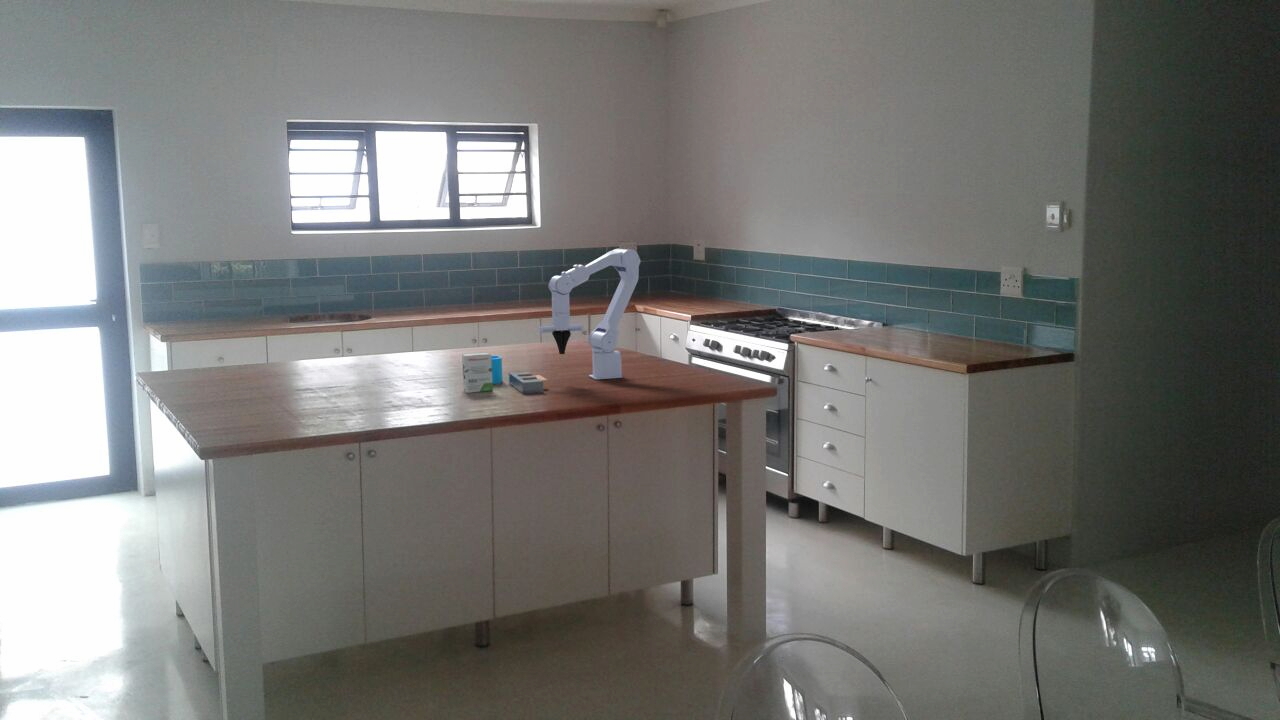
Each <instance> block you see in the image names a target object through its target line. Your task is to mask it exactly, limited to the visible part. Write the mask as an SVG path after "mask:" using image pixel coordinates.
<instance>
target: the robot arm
mask: <svg viewBox="0 0 1280 720" xmlns="http://www.w3.org/2000/svg"><path fill="white" fill-rule="evenodd" d="M640 265H641V258H640V256H639V254H638V252H637V251H636V250H634V249H624V248H619V247H617V248H615V249H613V250H609V251H608V252H606V253H605V254H603V255H601V256H600V257H598V258H596V259H594V260H593V261H591V262H589V263H588V264H586V265H583V264H574V265H573V266H572V267H573V268H571V269H569V270H567V271H562V272H561V274H560V275H553V276H552V277H551V279H550V280H549V283H548V284H547V285H548V286H547V287H548V289H549V291H550V292H551V315H552V316H551V319H552V325H544V326H538V333H539V334H545V333H546V334H547V333H548V334H549V333H551V334H552V336H553V338H554V341H555V344H556V345H557V348H558V354H560V355H565V354H566V353H565V352H566V348H567V344H568V343H569V340H570V338H571V335H572V332H583V331H584V325H583V324H571V316H570V315H571V314H570V312H571V311H570V308H571V307H570V293H571V291H572V289H574V288H577V286H579V285H581V284H583V283H585V282H587V281H588V280H589V278H590V275H593V274H594V273H597V272H598V271H599V272H600V271H601V270H603V269H605V268H607V267H611V266H612V267H614V269H615V270H616V271H617V272H618V275H619V276H620V281H619V284H618V285H617V288H616V290H615V292H614V293H613V296H612V299H611V301H610V303H609V305H608V307H607V309H606V312H605V315H604V317H603V319H602V321H600V322H599V323H598V324H597V325H596V326H595V329H594V330H593V331H592V332H590V334H589V336H588V344H589V346H590V347H591V350H592V351H591V352H592V374H589V375H588V377H590V378H592V379H594V380H606V379H607V380H609V379H610V380H611V379H620V378H623V376H622V373H623V372H622V371H623V369H622V368H623V367H622V355H621V352H620V351H619V350H616V347H617V346H618V337H619V335H620V332H619V329H618V328H619V327H618V326H619V324H620V322H621V320H622V318H623V315H624V313H625V311H626V309H627V306H628V305H629V302H630V299H631V297H632V294H633V293H634V290H635V289H636V285H637V284H638V282H639V277H640V276H639V273H640V272H639V270H640V269H639V268H640V267H639V266H640Z"/></svg>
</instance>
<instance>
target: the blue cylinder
mask: <svg viewBox="0 0 1280 720" xmlns="http://www.w3.org/2000/svg"><path fill="white" fill-rule="evenodd" d="M502 359H503V357H502V356H501V355H491V361H492V382H493V385H494V384H501V383H503V360H502Z"/></svg>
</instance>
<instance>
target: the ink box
mask: <svg viewBox="0 0 1280 720" xmlns="http://www.w3.org/2000/svg"><path fill="white" fill-rule="evenodd" d="M491 356H492V354H490V353H489V352H482V353H464V354H461V358H462V359H461V360H462V363H461V364H462V381H463V384H462V385H463V392H465V393H467V394H469V393H479V392H491V391H493V390H494V386H493V385H494V384H493V382H492V361H491Z"/></svg>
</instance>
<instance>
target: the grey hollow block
mask: <svg viewBox="0 0 1280 720" xmlns="http://www.w3.org/2000/svg"><path fill="white" fill-rule="evenodd" d="M508 380H509V382H508V384H509V385H510V386H512V387H513V388H514V389H516V390H517V391H519V392H520V393H521V394H522V395H524V394H525V395H526V394H537V393H544V389H543V381H542V380H540V379H537V377H536V376H533V375H532V373H531V372H530V371H521V372H518V371H517V372H508Z"/></svg>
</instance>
